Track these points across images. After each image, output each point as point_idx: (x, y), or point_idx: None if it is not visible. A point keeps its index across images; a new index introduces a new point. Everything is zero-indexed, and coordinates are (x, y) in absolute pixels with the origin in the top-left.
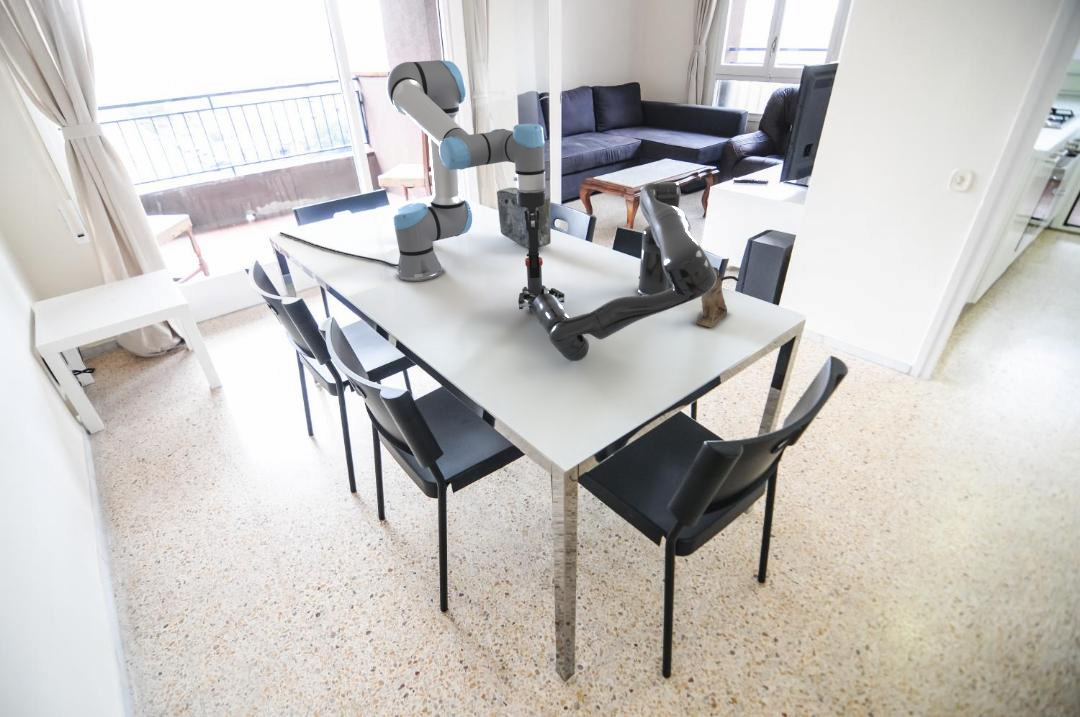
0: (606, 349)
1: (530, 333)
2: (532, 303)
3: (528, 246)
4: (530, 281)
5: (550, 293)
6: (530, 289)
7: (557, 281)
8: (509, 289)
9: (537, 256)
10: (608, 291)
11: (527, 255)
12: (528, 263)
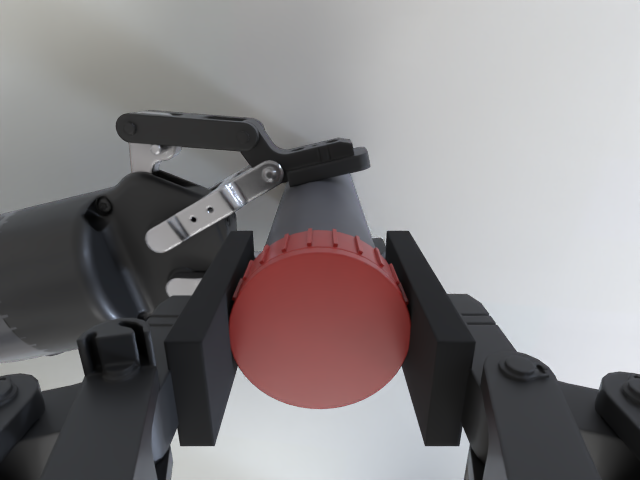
0: None
1: (94, 154)
2: (86, 203)
3: (499, 360)
4: (275, 219)
5: None
6: (283, 199)
7: (630, 302)
8: (625, 48)
9: (181, 422)
10: (457, 466)
11: (89, 339)
12: (250, 273)
